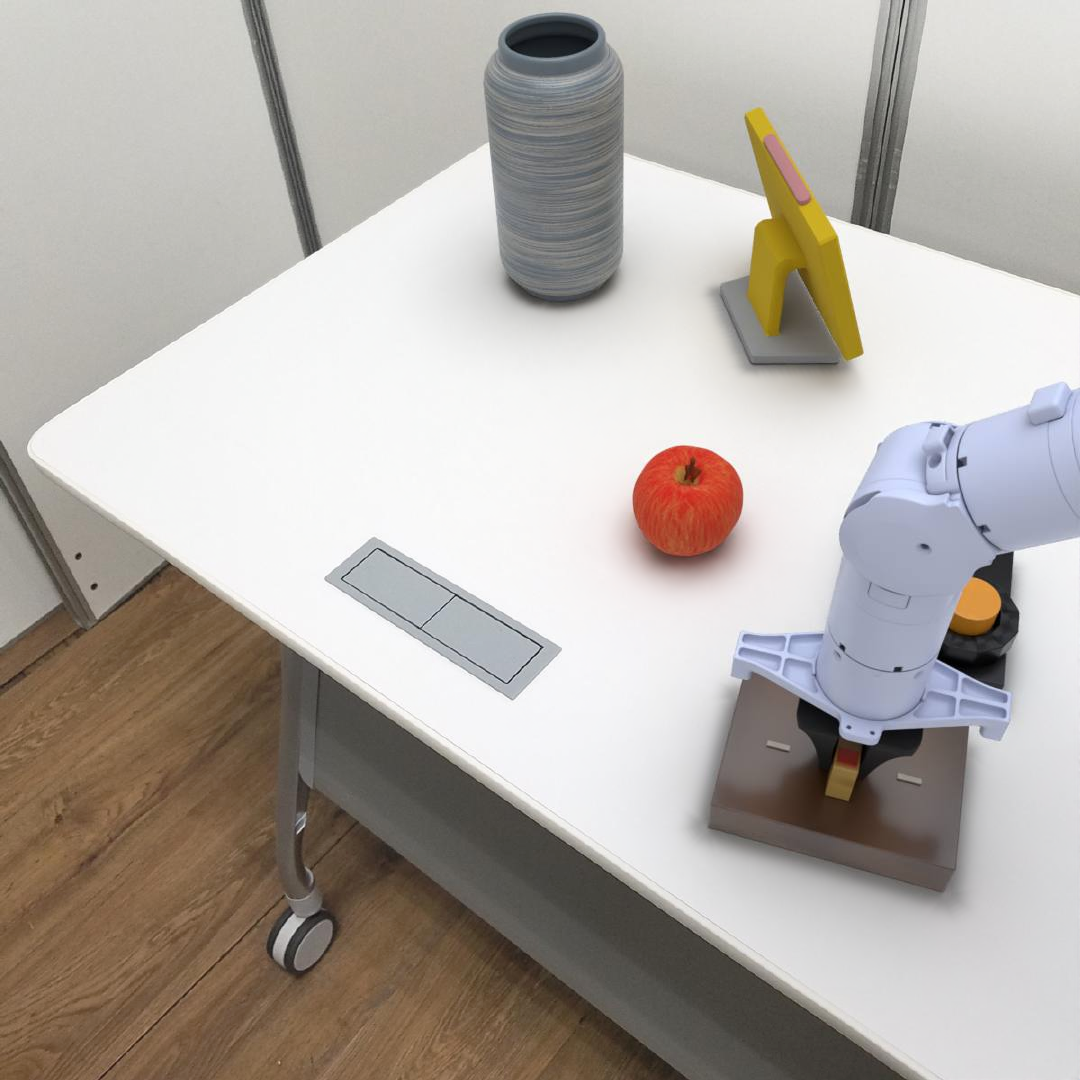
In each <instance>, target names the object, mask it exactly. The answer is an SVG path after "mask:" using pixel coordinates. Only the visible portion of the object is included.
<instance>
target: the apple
mask: <svg viewBox="0 0 1080 1080" xmlns="http://www.w3.org/2000/svg"><path fill="white" fill-rule="evenodd" d="M631 499H632V511H633V515H634V519H635V521H636V523H637V526H638V528H639V529H640V531H641V533H642V534H643V535H644V536H645V538H646V539H647V541H649V542H650V544H651V545H653V546H654V547H656V549H658V550H659V551H661V552H663V553H665V554H668V555H672V556H678V557H692V556H697V555H701V554H705V553H707V552H711V551H712V550H713V549H716V548H717V547H718V546H720V545H721V544H722V543H723V542H724V541H725V540H726V539H727V538H728V536H729V535H730V534H731V532H732V530H733V529H734V528H735V527H736V524H737V523H738V522H739V520H740V518H741V515H742V511H743V506H744V488H743V483H742V480H741V477H740V475H739V473H738V472H737V470H736V468H735V467H734V466H733V465H732V464H731V463H730V462H729V461H727V460H726V459H725V458H723V457H722V456H720V455H719V454H718V453H717V452H715V451H713V450H711V449H708V448H705V447H701V446H694V445H687V444H686V445H685V444H681V445H674V446H670V447H668V448H665V449H664V450H661V451H660V452H658V453H657V454H655V455H654V456H653V457H651V458H650V459H649V461H648V462H647V463H646V464H645V465H644V467H643V469H642V470H641V472H640V473H639V475H638V477H637V478H636V480H635V482H634V486H633V490H632V497H631Z"/></svg>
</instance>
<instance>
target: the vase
mask: <svg viewBox="0 0 1080 1080" xmlns="http://www.w3.org/2000/svg"><path fill="white" fill-rule="evenodd" d="M624 72H625V71H624V66H623V63H622V61H621V58H620V56H619V54H618V53H617V51H616V50H615V48H613V46H611V44H610V43H609V42H607V36H606V32H605V30H604V28H603V26H602V25H601V24H600V23H598V22H597V21H596V20H594V19H592V18H590V17H588V16H585V15H581V14H577V13H572V12H571V13H570V12H557V11H556V12H555V11H554V12H544V13H542V12H541V13H537V14H532V15H528V16H524V17H522V18H520V19H517V20H515V21H513V22H512V23H510V24H508V25H507V26H506V27H504V29H502V31H501V32H500V34H499V35H498V38H497V48H496V49H495V51H494V52H493V53H492V55H491V56H490V58H489V59H488V62H487V64H486V66H485V69H484V73H483V81H482V82H483V83H482V84H483V91H484V103H485V113H486V123H487V124H486V125H487V133H488V135H487V136H488V144H489V154H490V156H489V157H490V166H491V175H492V185H493V194H494V195H493V197H494V205H495V217H496V227H497V228H496V229H497V239H498V248H499V256H500V261H501V264H502V266H503V268H504V270H505V271H506V274H507V275H508V276H509V277H510V278H511V279H512V280H513V281H514V282H515V283H516V284H518V285H519V286H521V288H522V289H523V290H524V291H525V292H527V293H528V294H530V295H531V296H533V297H536V298H539V299H540V300H541V299H542V300H545V301H549V302H550V301H551V302H569V301H575V300H580V299H583V298H585V297H588V296H590V295H591V294H593V293H595V292H597V291H598V290H599V289H600V288H601V287H602V286H603V285H604V284H605V283H606V281H607V280H609V279H610V277H611V276H612V275H614V273H615V272H616V270H617V269H618V267H619V265H620V263H621V261H622V258H623V253H624V178H625V177H624V176H625V175H624V163H625V161H624V160H625V159H624V158H625V157H624V154H625V153H624V150H625V149H624V148H625V145H624V143H625V142H624V141H625V140H624V139H625V138H624V135H625V133H624V132H625V131H624V130H625V122H624V121H625V119H624V118H625V114H624V113H625V110H624V109H625V97H624V96H625V74H624Z"/></svg>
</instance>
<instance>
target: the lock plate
mask: <svg viewBox="0 0 1080 1080" xmlns="http://www.w3.org/2000/svg"><path fill="white" fill-rule="evenodd" d="M799 698H800V697H799V696H797V695H795V694H793V693H792V692H790V691H788V690H787V689H785V688H783V687H781V686H780V685H778V684H776V683H774V682H773V681H771V680H769V679H767V678H766V677H764V676H762V675H760V674H758V673H754V672H752V675H751V678H750V679H749V680H743V679H741V684H740V688H739V692H738V696H737V699H736V703H735V706H734V711H733V715H732V720H731V722H730V725H729V726H730V728H729V731H728V734H727V738H726V742H725V746H724V750H723V754H722V758H721V762H720V766H719V770H718V774H717V778H716V781H715V786H714V790H713V794H712V798H711V801H710V807H709V813H708V821H707V827H708V828H710V829H714V830H717V831H721V832H725V833H728V834H732V835H735V836H739V837H742V838H746V839H749V840H750V839H751V840H752V841H753V840H754V841H757V842H760V843H765V844H768V845H772V846H775V847H778V848H783V849H787V850H789V851H793V852H797V853H800V854H804V855H807V856H808V855H809V856H812V857H815V858H818V859H822V860H826V861H830V862H833V863H837V864H839V865H845V866H848V867H851V868H856V869H859V870H862V871H866V872H870V873H873V874H877V875H881V876H884V877H888V878H891V879H895V880H899V881H902V882H906V883H910V884H912V885H917V886H921V887H924V888H927V889H931V890H935V891H939V892H942V893H943V892H945V890H946V889H947V887H948V885H949V884H950V881H951V880H952V878H953V877H954V874H955V872H956V870H957V861H958V852H959V851H958V849H959V839H960V829H961V818H962V809H963V797H964V787H965V776H966V775H965V774H966V766H967V765H966V764H967V755H968V745H969V735H970V726H955V727H935V728H924V729H923V737H922V741H921V744H920V746H919V748H918V749H917V751H916V752H915V753H914V754H913V756H905V757H898V758H894V759H891V760H888V761H886V762H885V763H883V764H881V765H880V766H878V767H877V768H876V769H875V770H873V771H872V772H871V773H870V774H869V775H868V776H867V777H866V778H865V779H863V780H862V779H858V778H856V781H855V784H854V787H853V790H852V793H851V796H850V799H849V801H846V800H842V799H838V798H834V797H831V796H827V795H825V791H826V786H827V780H828V775H829V771H827V770H823V769H819V767H818V756H817V753H816V749H815V747H814V744H813V742H812V741H811V739H810V737H809V736H808V735H807V734H806V733H805V732H804V731H802V730H801V729H799V727H798V723H797V708H798V703H799Z"/></svg>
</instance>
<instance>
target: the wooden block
mask: <svg viewBox="0 0 1080 1080" xmlns="http://www.w3.org/2000/svg"><path fill="white" fill-rule="evenodd" d="M862 747H863V744H862V743H858V742H854V741H850V740H846V739H844V738H842V736H841V735H840V734H839V738H838V739H837V741H836V744H835V749H834V754H833V760H832V765H831V768H830V771H829V775H828V780H827V786H826V791H825V795H827V796H831V797H834V798H838V799H842V800H846V801H849V799H850V796H851V793H852V790H853V787H854V784H855V781H856V778H857V775H858V772H859V766H860V759H861V753H862Z"/></svg>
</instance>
